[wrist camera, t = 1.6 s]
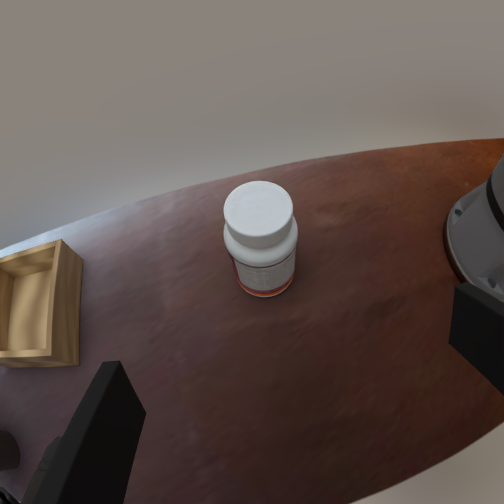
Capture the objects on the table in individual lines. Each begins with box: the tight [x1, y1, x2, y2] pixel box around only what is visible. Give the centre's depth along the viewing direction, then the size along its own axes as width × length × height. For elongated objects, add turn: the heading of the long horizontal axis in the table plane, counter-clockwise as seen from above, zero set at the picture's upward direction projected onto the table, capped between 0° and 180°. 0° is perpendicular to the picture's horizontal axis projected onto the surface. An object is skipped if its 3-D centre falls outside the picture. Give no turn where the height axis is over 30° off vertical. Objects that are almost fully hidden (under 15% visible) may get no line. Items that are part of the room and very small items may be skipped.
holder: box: [0, 239, 83, 367], centre depth 29 cm, size 14×14×5 cm
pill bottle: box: [224, 181, 298, 297], centre depth 27 cm, size 6×6×11 cm
